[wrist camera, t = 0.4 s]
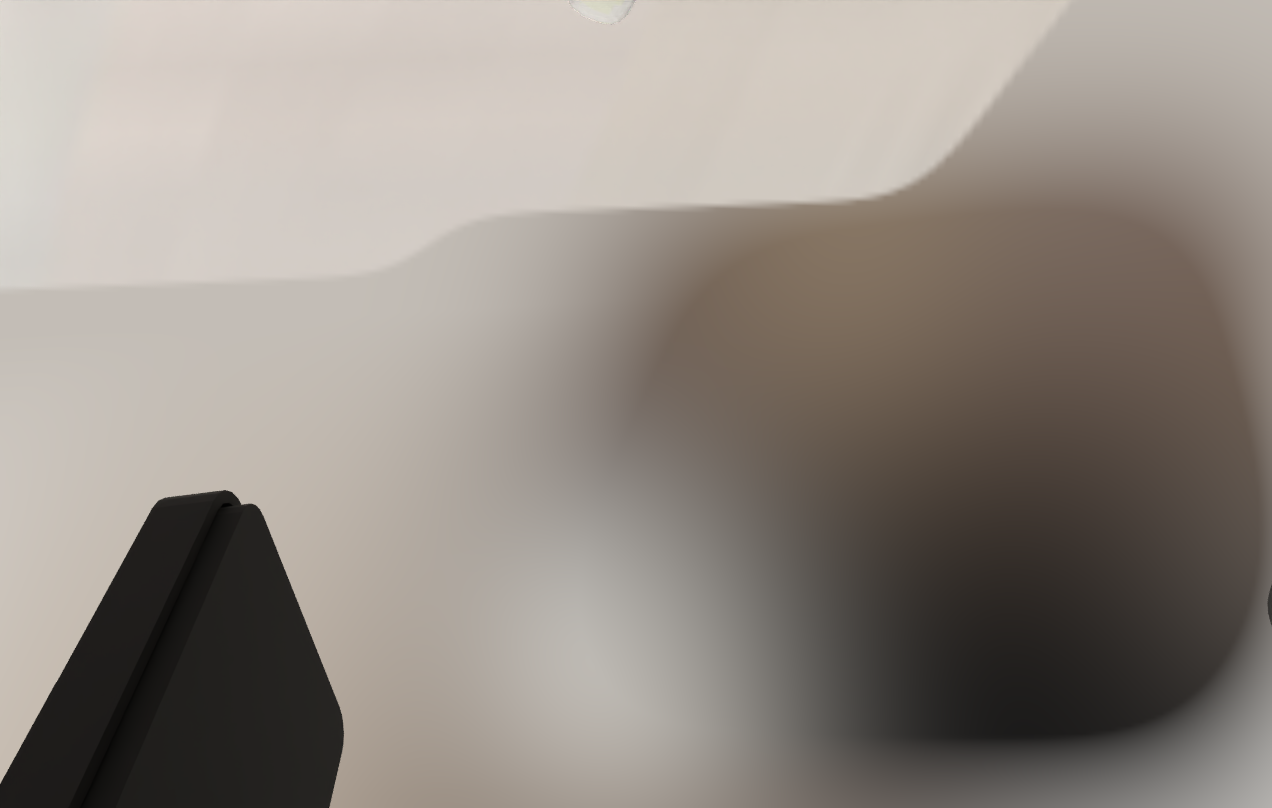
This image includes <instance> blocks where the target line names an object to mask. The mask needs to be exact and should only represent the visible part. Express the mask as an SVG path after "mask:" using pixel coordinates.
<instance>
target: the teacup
mask: <svg viewBox="0 0 1272 808" xmlns="http://www.w3.org/2000/svg"><path fill="white" fill-rule="evenodd" d="M635 1H636V0H568V2H569V4H570V6H571V7H572V9H574V10H575V11H576V12H578V13H579V14H580V15H581V16H583V17H584V18H587V19H590V20H593V21H596V22H599V23H602V24H616V23H619V22H620V21H621V20H622V19H623V18H625V17H626V16H627V15H628V13H629V12H630V10H631V8H632V6H633V4H634V3H635Z"/></svg>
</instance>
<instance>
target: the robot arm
mask: <svg viewBox="0 0 1272 808" xmlns="http://www.w3.org/2000/svg"><path fill="white" fill-rule="evenodd" d="M1268 614H1269V617H1270V622H1271V624H1272V586H1271V589H1270V593H1269V597H1268ZM343 738H344V731H343V720H342V714H341V711H340V707H339V705H338V702H337V700H336V697H335V695H334V692H333V690H332V687H331V685H330V682H329V680H328V677H327V675H326V672H325V670H324V667H323V664H322V662H321V659H320V657H319V654H318V652H317V649H316V647H315V644H314V642H313V640H312V637H311V634H310V632H309V630H308V627H307V625H306V622H305V619H304V617H303V614H302V612H301V609H300V607H299V604H298V602H297V599H296V597H295V594H294V592H293V589H292V587H291V584H290V582H289V579H288V577H287V575H286V572H285V569H284V567H283V564H282V562H281V559H280V557H279V554H278V552H277V549H276V547H275V544H274V542H273V539H272V537H271V534H270V532H269V529H268V527H267V524H266V521H265V519H264V517H263V515H262V513H261V511H260V509H259V508H258V507H257V506H256V505H254V504H244V505H241V503H240V501H239V499H238V498H237V497H236V496H235V495H234V494H233V493H232V492H230V491H226V490H223V491H215V492H207V493H200V494H191V495H183V496H175V497H168V498H164V499H161V500H159V501H158V502H157V503H156V504H155V505H154V507H153V508H152V510H151V512H150V513H149V515H148V517H147V519H146V521H145V522H144V525H143V526H142V528H141V530H140V532H139V533H138V535H137V537H136V539H135V541H134V543H133V544H132V546H131V548H130V550H129V552H128V553H127V555H126V557H125V559H124V561H123V563H122V564H121V566H120V568H119V570H118V572H117V574H116V575H115V577H114V579H113V581H112V582H111V585H110V586H109V588H108V590H107V592H106V593H105V595H104V597H103V599H102V601H101V603H100V605H99V606H98V608H97V610H96V612H95V614H94V615H93V617H92V619H91V621H90V623H89V624H88V626H87V628H86V630H85V632H84V634H83V635H82V637H81V639H80V641H79V643H78V644H77V646H76V648H75V650H74V652H73V653H72V655H71V657H70V659H69V661H68V663H67V664H66V666H65V668H64V670H63V672H62V674H61V675H60V677H59V679H58V681H57V682H56V684H55V685H54V687H53V689H52V691H51V693H50V694H49V696H48V698H47V700H46V702H45V704H44V706H43V707H42V709H41V711H40V713H39V715H38V716H37V718H36V720H35V722H34V724H33V725H32V727H31V729H30V731H29V733H28V735H27V736H26V738H25V740H24V742H23V744H22V745H21V747H20V749H19V751H18V753H17V755H16V757H15V758H14V760H13V762H12V764H11V765H10V767H9V769H8V771H7V773H6V775H5V776H4V778H3V780H2V782H1V784H0V808H329V806H330V802H331V798H332V793H333V789H334V784H335V780H336V776H337V771H338V767H339V763H340V758H341V754H342V748H343Z"/></svg>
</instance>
